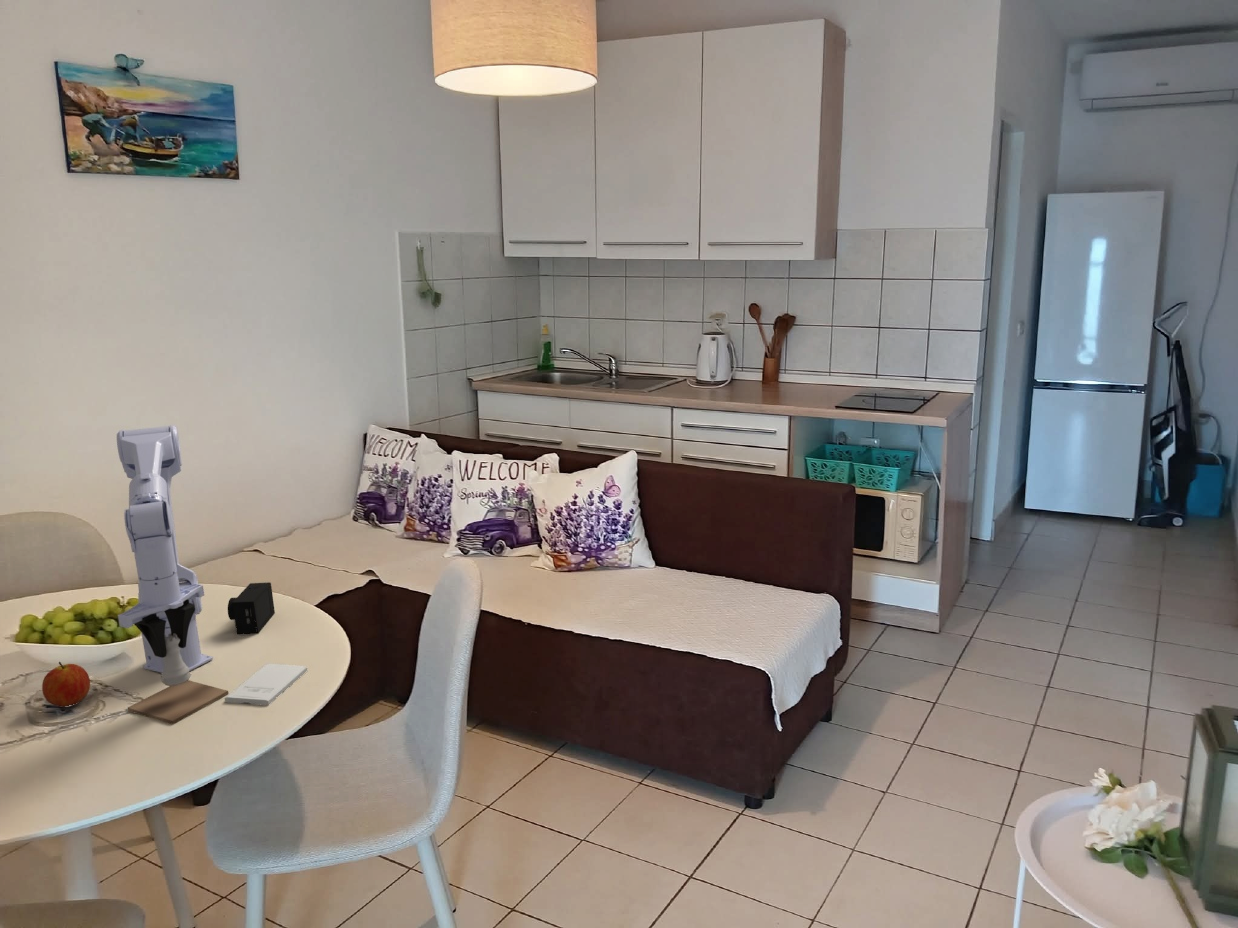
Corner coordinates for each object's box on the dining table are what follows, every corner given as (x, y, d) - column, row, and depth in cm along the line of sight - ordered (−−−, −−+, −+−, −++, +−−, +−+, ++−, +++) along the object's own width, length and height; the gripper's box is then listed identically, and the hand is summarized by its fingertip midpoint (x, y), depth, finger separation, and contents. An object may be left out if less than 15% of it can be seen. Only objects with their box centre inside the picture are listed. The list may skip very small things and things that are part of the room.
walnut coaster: (128, 710, 156) (127, 707, 156) (184, 681, 166) (183, 678, 165) (173, 724, 151) (172, 720, 151) (228, 693, 161) (228, 690, 160)
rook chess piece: (167, 675, 159) (159, 632, 157) (195, 672, 160) (187, 629, 158) (158, 688, 155) (149, 643, 153) (186, 685, 155) (178, 641, 153)
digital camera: (248, 614, 195) (244, 582, 193) (275, 613, 195) (270, 581, 193) (230, 635, 185) (225, 602, 183) (258, 634, 185) (253, 600, 183)
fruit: (89, 690, 164) (81, 648, 162) (97, 704, 159) (88, 661, 157) (43, 703, 160) (34, 660, 158) (49, 719, 154) (40, 674, 152)
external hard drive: (307, 674, 168) (269, 708, 156) (266, 671, 170) (225, 704, 158) (306, 665, 168) (268, 699, 156) (265, 663, 169) (223, 696, 158)
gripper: (134, 593, 145) (147, 674, 148) (211, 562, 157) (223, 637, 160) (104, 587, 148) (118, 666, 151) (182, 557, 160) (194, 631, 164)
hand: (170, 651), depth 156 cm, fingers closed on rook chess piece, 3 cm apart
